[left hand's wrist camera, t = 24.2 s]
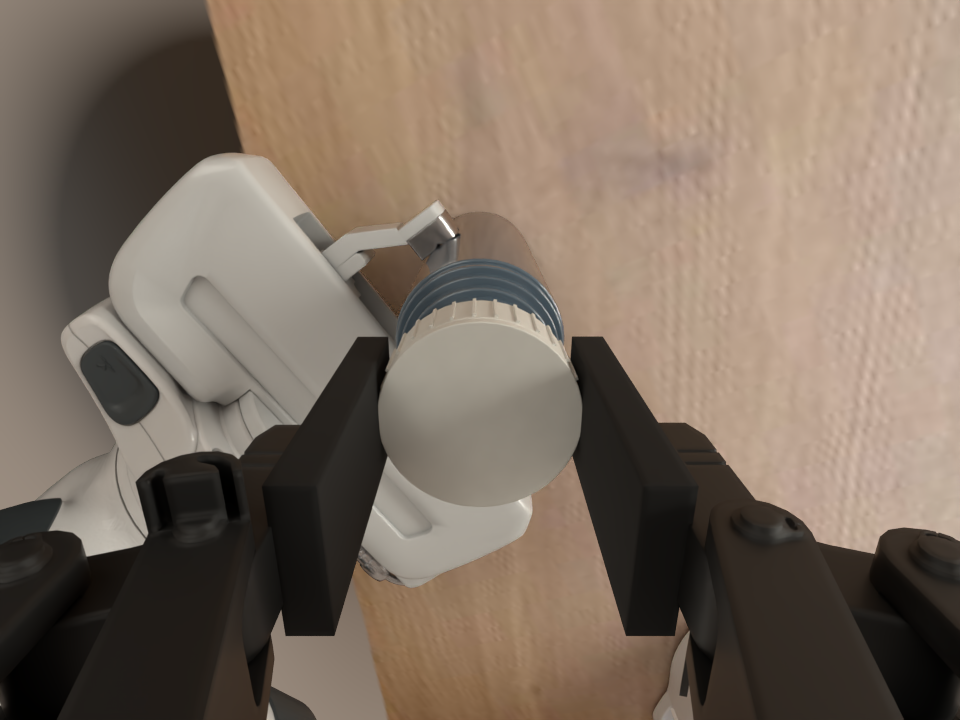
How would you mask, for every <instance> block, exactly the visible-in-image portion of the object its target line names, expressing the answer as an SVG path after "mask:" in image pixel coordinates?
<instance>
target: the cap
mask: <svg viewBox="0 0 960 720" xmlns="http://www.w3.org/2000/svg"><path fill="white" fill-rule="evenodd" d="M385 371H386V374H385V377H384V379H383V382H382V384H381V386H380V393H379V398H378V415H379V429H380V438H381V442H382V444H383V447H384V449H385V451H386V453H387V455H388V457H389V458H390V460H391V462H392V463H393V465H394V466H395V467H396V468H397V470H398V471H399V472H400V473H401V474H402V475H403V476H404V477H405V478H406V479H407V480H408V481H409V482H410V483H411V484H413V485H414V486H415V487H417V488H418V489H420V490H421V491H423V492H425V493H426V494H428V495H430V496H432V497H435V498H437V499H439V500H442V501H445V502H448V503H451V504H456V505H461V506H469V507H492V506H499V505H504V504H508V503H512V502H515V501H518V500H521V499H523V498H526V497H528V496H530V495H532V494H533V493H535V492H537V491H539V490H540V489H542V488H543V487H545V486H546V485H547V484H549V483H550V482H551V481H552V480H553V479H554V478H555V477H556V476H557V475H558V474H559V473H560V472H561V471H562V470H563V469H564V467H565V466H566V465H567V463H568V462H569V460H570V459H571V457H572V455H573V453H574V451H575V449H576V447H577V444H578V441H579V438H580V433H581V419H582V397H581V394H580V390H579V386H578V384H577V381H576V380H579V379H578V376H577V374H576V372H575V369H574V367H573V365H572V362H571V360H570V358H569V357H568V355H567V353H566V351H565V348H564V346H563V343H562V341H561V340H559V341H558V340H557V338H556V337H555V336H554V335H553V333H552V331H551V328H550V326H549V325H547V326H545V325H544V324H543V323H542V322H541V321H539V320H538V319H537V318H536V317H535V314H533V313H532V314H529V313H527V312H525V311H523V310H521V309H519V308H517V305H515V304H513V306H511V305H508V304H505V303H500V302H497V300H496V299H493V301H485V300H477V301H476V298H473V301H465V302H460V303H456V301H454V302H452V305H449V306H445V307H443V308H441V309H439V310H437V309H436V308H435V309H433V312H432V313H431V314H429V315H428V316H426V317H425V318H423V319H422V320H420V319H418V320H417V321H416V324H415V326H414V327H413V328H412V329H411V330H410V331H409V332H408V333H407V334H406V333H404V334H403V336H402V339H401V341H400V344H399V346H398V348H397V349H394V350H393V353H392V355H391V358H390V360H389V362H388V365H387V367H386V369H385Z"/></svg>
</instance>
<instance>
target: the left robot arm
mask: <svg viewBox="0 0 960 720" xmlns="http://www.w3.org/2000/svg"><path fill="white" fill-rule="evenodd" d="M389 360H390V357H389V341H388V337H357V339H356V340H355V342H354V343H353V345H352V346H351V348H350V349H349V351H348V353H347V354H346V356H345V357H344V359H343V360H342V362H341V363H340V365H339V367H338V368H337V370H336V371H335V373H334V374H333V376H332V377H331V379H330V381H329V382H328V384H327V385H326V387H325V388H324V390H323V391H322V393H321V395H320V396H319V398H318V399H317V401H316V402H315V404H314V405H313V407H312V409H311V410H310V412H309V413H308V415H307V416H306V418H305V419H304V421H303V423H302V424H301V425H274V426H273V427H271V428H269V429H268V430H266V431H265V432H263V433H261V434H260V435H258V436H257V437H255V438H254V440H253V441H252V442H251V444H250V445H249V446H248V448H247V449H246V450H245V451H244V455H241V457H240V458H239V459H238V458H236V457H235V456H234V455H233V454H229V453H224V452H220V451H201V452H195V453H190V454H185V455H180V456H177V457H174V458H172V459H169V460H166V461H163V462H161V463H159V464H157V465H156V466H154V467H152V468H150V469H149V470H147V471H145V472H144V473H143V474H142V475H141V477H140V478H139V479H138V480H137V481H136V482H135V483H136V487H137V491H138V495H139V499H140V503H141V507H142V511H143V514H144V518H145V522H146V526H147V530H148V535H147V537H146V539H145V541H144V543H143V545H139V546H135V547H132V548H127V549H122V550H117V551H112V552H107V553H102V554H97V555H92V556H86V553H85V550H84V547H83V543H82V540H81V539H80V538H79V537H78V536H76V535H75V534H74V533H72V532H66V531H60V530H54V531H45V532H35V533H30V534H26V535H25V536H23V535H22V536H19V537H16V538H13V539H10V540H8V541H7V542H5V543H3V544H1V545H0V720H267V713H268V705H269V697H270V689H271V681H272V673H273V665H274V652H273V645H272V639H271V632H272V629H273V627H274V625H275V622H276V620H277V618H278V615H279V613H280V611H281V610H282V616H283V622H284V629H285V635H286V636H334V635H335V632H336V628H337V625H338V621H339V618H340V615H341V612H342V608H343V605H344V601H345V598H346V595H347V591H348V588H349V585H350V581H351V578H352V575H353V571H354V568H355V565H356V561H357V558H358V555H359V551H360V548H361V544H362V541H363V538H364V534H365V531H366V528H367V524H368V521H369V518H370V514H371V511H372V507H373V504H374V501H375V497H376V494H377V491H378V487H379V484H380V481H381V477H382V474H383V470H384V467H385V464H386V460H387V457H388V455H387V453H386V451H385V449H384V447H383V444H382V442H381V438H380V429H379V415H378V398H379V393H380V386H381V384H382V382H383V379H384V377H385V374H386V371H385V369H386V367H387V365H388V362H389ZM571 362H572V365H573V367H574V369H575V372H576V374H577V376H578V379H579V380H576V381H577V384H578V386H579V390H580V394H581V397H582V419H581V433H580V438H579V441H578V444H577V447H576V449H575V451H574V453H573V455H572V456H573V459H574V463H575V466H576V469H577V473H578V476H579V479H580V483H581V486H582V489H583V493H584V496H585V499H586V503H587V506H588V510H589V513H590V516H591V520H592V523H593V526H594V530H595V533H596V536H597V540H598V543H599V547H600V550H601V553H602V557H603V560H604V563H605V567H606V570H607V573H608V577H609V580H610V584H611V587H612V590H613V594H614V597H615V600H616V604H617V607H618V610H619V614H620V617H621V620H622V624H623V627H624V631H625V634H626V636H675V631H676V625H677V618H678V612H679V607H680V609H681V612H682V614H683V616H684V619H685V621H686V623H687V626H688V628H689V630H690V633H689V639H688V645H687V651H686V657H685V662H684V668H683V674H682V680H681V686H680V693H679V696H684V697H687V694H688V689H689V688H690V696H691V704H692V712H693V720H960V541H958V540H955V539H954V538H953V537H950V536H948V535H945V534H941V533H939V534H938V533H936V532H934V531H929V530H922V529H913V528H898V529H892V530H888V531H887V532H885V533H884V534H883V535H882V536H880V538H879V542H878V545H877V548H876V552H875V554H871V553H866V552H861V551H856V550H851V549H846V548H841V547H836V546H831V545H827V544H823V543H819V542H816V540H815V538H814V536H813V534H812V532H811V531H810V530H809V529H808V527H807V526H806V525H805V524H804V523H803V521H801V520H800V519H799V518H797V517H796V516H794V515H793V514H791V513H790V512H788V511H786V510H784V509H782V508H779V507H777V506H775V505H772V504H770V503H766V502H761V501H757V500H755V499H754V497H753V496H752V495H751V493H750V492H749V491H748V490H747V488H746V487H745V486H744V484H743V483H742V482H741V481H740V479H739V478H738V477H737V475H736V474H735V473H734V472H733V470H732V469H731V468H730V466H729V465H726V461H725V460H724V459H723V457H722V456H721V455H720V454H719V453H717V452H716V448H715V447H714V446H713V445H712V443H711V442H710V441H709V439H708V438H707V437H706V436H705V435H704V434H702V433H701V432H699V431H698V430H696V429H694V428H693V427H691V426H689V425H688V424H686V423H658V422H657V420H656V419H655V417H654V416H653V414H652V413H651V411H650V409H649V408H648V406H647V405H646V403H645V402H644V400H643V399H642V397H641V395H640V394H639V392H638V391H637V389H636V388H635V386H634V385H633V383H632V381H631V380H630V378H629V377H628V375H627V374H626V372H625V371H624V369H623V367H622V366H621V364H620V363H619V361H618V360H617V358H616V357H615V355H614V353H613V352H612V350H611V349H610V347H609V346H608V344H607V343H606V341H605V339H604V338H603V337H572V347H571Z"/></svg>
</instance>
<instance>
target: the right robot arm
mask: <svg viewBox="0 0 960 720" xmlns="http://www.w3.org/2000/svg"><path fill="white" fill-rule="evenodd" d="M458 230H459V228H458V226H457V225H456V223H455V222H454V221H453V219H452V218H451V216H450V215H449V213H448V212H447V211H446V209H445V208H444V206H443V205H442V204H441V202H440V201H439V200H438V199H437V200H436V201H434V202H433V203H431V204H430V205H429V206H427V207H426V208H425V209H423V210H422V211H421V212H420V213H418V214H417V215H416V216H414V217H413V218H412V219H410V220H409V221H408V222H407V223H405V224H403V223H402V222H398V223H389V224H380V225H371V226H362V227H355V228H354V229H352V230H351V231H349V232H348V233H346V234H345V235H344V236H342V237H341V238H340V239H338V240H337V241H335V240H334V238H333V237H332V236H331V235H330V233H329V232H328V231H327V230H326V228H325V227H324V226H323V225H322V224H321V222H320V221H319V220H318V219H317V217H316V216H315V215H314V214H313V213H312V211H311V210H310V209H309V208H308V206H307V205H306V204H305V203H304V201H303V200H302V199H301V198H300V197H299V195H298V194H297V193H296V192H295V190H294V189H293V188H292V187H291V186H290V184H289V183H288V182H287V181H286V179H285V178H284V177H283V176H282V174H281V173H280V172H279V171H278V169H277V168H276V167H275V166H274V165H273V163H272V162H271V161H269V160H268V159H267V158H265V157H262V156H257V155H250V154H242V153H223V154H218V155H213V156H210V157H208V158H206V159H204V160H202V161H201V162H199V163H198V164H196V165H195V166H194V167H193V168H192V169H191V170H189V171H188V172H187V173H186V174H185V175H184V176H183V177H182V178H181V179H180V180H179V181H178V182H177V183H176V184H175V185H174V186H173V187H172V188H171V189H170V190H169V191H168V192H167V193H166V194H165V195H164V196H163V197H162V198H161V199H160V200H159V201H158V202H157V204H156V205H155V206H154V207H153V208H152V209H151V210H150V212H149V213H148V214H147V215H146V216H145V217H144V219H143V220H142V221H141V222H140V223H139V225H138V226H137V227H136V228H135V230H134V231H133V232H132V234H131V235H130V236H129V237H128V239H127V240H126V241H125V243H124V244H123V245H122V247H121V248H120V250H119V252H118V253H117V255H116V257H115V259H114V261H113V264H112V267H111V270H110V274H109V294H110V297H108V298H107V299H105V300H103V301H101V302H100V303H98V304H96V305H94V306H93V307H91V308H90V309H88V310H87V311H85V312H84V313H82V314H81V315H79V316H78V317H77V318H75V319H74V320H73V321H71V322H70V323H69V324H68V325H67V326H66V327H65V329H64V330H63V332H62V334H61V344H62V347H63V350H64V352H65V354H66V356H67V358H68V359H69V361H70V363H71V364H72V366H73V367H74V369H75V371H76V372H77V374H78V375H79V377H80V378H81V380H82V382H83V383H84V385H85V387H86V388H87V390H88V391H89V393H90V395H91V396H92V398H93V400H94V402H95V403H96V405H97V407H98V408H99V410H100V412H101V414H102V415H103V417H104V419H105V421H106V423H107V425H108V427H109V429H110V431H111V433H112V435H113V437H114V439H115V441H116V443H115V445H114V446H113V448H112V450H111V451H110V452H109V453H107V454H104V455H101V456H98V457H95V458H93V459H90V460H88V461H86V462H85V463H83V464H81V465H79V466H77V467H76V468H75V469H73V470H72V471H70V472H69V473H68V474H67V475H65V476H64V477H63V478H61V479H60V480H59V481H58V482H56V483H55V484H54V485H53V486H51V487H50V488H49V489H48V490H47V491H46V492H44V493H43V494H42V495H41V496H40V497H39V498H37V499H36V500H35V501H31V502H27V503H23V504H20V505H17V506H13V507H9V508H6V509H2V510H0V545H1V544H3V543H5V542H7V541H8V540H10V539H13V538H16V537H19V536H22V535H23V536H25V535H26V534H30V533H35V532H45V531H54V530H60V531H66V532H72V533H74V534H75V535H76V536H78V537H79V538H80V539H81V540H82V543H83V547H84V550H85V553H86V556H92V555H97V554H102V553H107V552H112V551H117V550H122V549H127V548H132V547H135V546H139V545H143V543H144V541H145V539H146V537H147V535H148V530H147V526H146V522H145V518H144V514H143V511H142V507H141V503H140V499H139V495H138V491H137V487H136V483H135V482H136V481H137V480H138V479H139V478H140V477H141V475H142V474H143V473H144V472H145V471H147V470H149V469H150V468H152V467H154V466H156V465H157V464H159V463H161V462H163V461H166V460H169V459H172V458H174V457H177V456H180V455H185V454H190V453H195V452H201V451H220V452H224V453H229V454H233V455H234V456H235V457H236V458H238V459H239V458H240V457H241V455H244V451H245V450H246V449H247V448H248V446H249V445H250V444H251V442H252V441H253V440H254V438H255V437H257V436H258V435H260V434H261V433H263V432H265V431H266V430H268V429H269V428H271V427H273V426H274V425H301V424H302V423H303V421H304V419H305V418H306V416H307V415H308V413H309V412H310V410H311V409H312V407H313V405H314V404H315V402H316V401H317V399H318V398H319V396H320V395H321V393H322V391H323V390H324V388H325V387H326V385H327V384H328V382H329V381H330V379H331V377H332V376H333V374H334V373H335V371H336V370H337V368H338V367H339V365H340V363H341V362H342V360H343V359H344V357H345V356H346V354H347V353H348V351H349V349H350V348H351V346H352V345H353V343H354V342H355V340H356V339H357V337H388V341H389V357H390V358H391V355H392V353H393V350H394V349H396V340H395V336H396V326H397V321H398V317H397V316H396V314H395V313H394V312H393V311H392V310H391V308H390V307H389V306H388V305H387V303H386V302H385V301H384V300H383V298H382V297H381V296H380V295H379V294H378V292H377V291H376V290H375V289H374V287H373V286H372V285H371V284H370V283H369V281H368V280H367V279H366V278H365V276H364V275H363V274H362V273H361V271H360V269H362V268H363V267H364V266H365V265H366V264H367V263H368V262H369V261H370V260H371V259H372V258H373V257H374V256H375V251H374V250H373V249H377V248H385V247H393V246H401V245H408V244H409V245H410V246H411V247H412V249H413V250H414V251H415V252H416V254H417V255H418V256H419V257H420V259H421V260H423V259H425V258H426V257H428V256H429V255H430V254H432V252H433V251H434V250H436V248H437V245H438V244H444V243H445V242H447V241H449V240H450V239H452V238H453V237H454V236H455V235H456V234H457V233H458V232H459V231H458ZM532 512H533V509H532V498H531V495H530V496H528V497H526V498H523V499H521V500H518V501H515V502H512V503H508V504H504V505H499V506H492V507H469V506H461V505H456V504H451V503H448V502H445V501H442V500H439V499H437V498H435V497H432V496H430V495H428V494H426V493H425V492H423V491H421V490H420V489H418V488H417V487H415V486H414V485H413V484H411V483H410V482H409V481H408V480H407V479H406V478H405V477H404V476H403V475H402V474H401V473H400V472H399V471H398V470H397V468H396V467H395V466H394V465H393V463H392V462H391V460H390V458H389V457H387V460H386V464H385V467H384V470H383V474H382V477H381V481H380V484H379V487H378V491H377V494H376V497H375V501H374V504H373V507H372V511H371V514H370V518H369V521H368V524H367V528H366V531H365V534H364V538H363V541H362V544H361V548H360V551H359V555H358V558H357V561H358V562H359V563H360V566H361V567H362V568H363V570H364V571H365V572H366V573H367V574H368V575H369V576H371V577H372V578H374V579H375V580H377V581H383V580H384V579H386V580H387V581H389V582H391V583H394V584H397V585H403V586H406V587H408V588H414V587H418V586H420V585H423V584H425V583H426V582H428V581H430V580H431V579H433V578H435V577H436V576H438V575H440V574H441V573H444V572H447V571H450V570H452V569H455V568H458V567H460V566H462V565H465V564H467V563H470V562H472V561H474V560H477V559H479V558H481V557H483V556H485V555H488V554H490V553H492V552H494V551H496V550H498V549H500V548H502V547H504V546H506V545H508V544H510V543H512V542H513V541H515V540H517V539H518V538H520V537H521V536H522V535H523V534H524V533H525V531H526V529H527V527H528V524H529V522H530V519H531V516H532ZM689 633H690V630H689V632H688V633H687V634H686V635H685V637H684V638H683V639H682V641H681V642H680V644H679V646H678V648H677V650H676V652H675V654H674V657H673V660H672V663H671V668H670V678H669V685H668V688H667V691H666V692H665V694H664V695H663V697H662V698H661V700H660V701H659V702H658V704H657V706H656V707H655V709H654V712H653V720H693V712H692V704H691V696H690V688H689V689H688V694H687V697H684V696H679V693H680V686H681V680H682V674H683V668H684V662H685V657H686V651H687V645H688V639H689ZM267 720H316V718H315V716H314V714H313V713H312V711H311V710H310V709H309V708H308V707H307V706H306V705H305V704H304V703H302V702H301V701H299V700H297V699H295V698H293V697H291V696H289V695H287V694H285V693H283V692H281V691H279V690H277V689H275V688H273V687H271V689H270V697H269V705H268V713H267Z"/></svg>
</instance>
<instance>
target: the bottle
mask: <svg viewBox="0 0 960 720" xmlns="http://www.w3.org/2000/svg"><path fill="white" fill-rule="evenodd" d="M453 221H454V222H455V223H456V225H457V226H458V228H459V230H458V231H459V232H458V233H457V234H456V235H455V236H454V237H453V238H452V239H450V240H449V241H447V242H445V243H444V244H438V245H437V248H436V250H434V251H433V252H432V254H430V255H429V256H428V257H426V258H425V261H424V263H423V265H422V267H421V269H420V271H419V273H418V275H417V277H416V279H415V281H414V283H413V285H412V287H411V290H410V292H409V294H408V296H407V298H406V300H405V302H404V304H403V306H402V309H401V311H400V314H399V317H398V321H397V326H396V336H395V340H396V349H397V348H398V346H399V344H400V341H401V339H402V336H403V334H404V333H406V334H407V333H408V332H409V331H410V330H411V329H412V328H413V327H414V326H415V324H416V321H417V320H418V319H420V320H422V319H423V318H425V317H426V316H428V315H429V314H431V313H432V312H433V309H435V308H436V309H437V310H439V309H441V308H443V307H445V306H449V305H452V302H454V301H456V303H460V302H465V301H473V298H476V301H477V300H485V301H493V299H496V300H497V302H500V303H505V304H508V305H511V306H513V304H515V305H517V308H519V309H521V310H523V311H525V312H527V313H529V314H532V313H533V314H535V317H536V318H537V319H538V320H539V321H541V322H542V323H543V324H544V325H545V326H547V325H549V326H550V328H551V331H552V333H553V335H554V336H555V337H556V338H557V340H558V341H559V340H561V341H562V343H563V346H564V327H563V322H562V318H561V315H560V312H559V309H558V307H557V305H556V302H555V300H554V298H553V296H552V294H551V292H550V290H549V288H548V286H547V284H546V282H545V280H544V278H543V276H542V274H541V272H540V270H539V268H538V266H537V263H536V261H535V259H534V257H533V255H532V253H531V251H530V249H529V247H528V245H527V243H526V241H525V239H524V237H523V235H522V234H521V233H520V231H519V230H518V229H517V228H516V227H515V226H514V225H513V224H512V223H511V222H509V221H508V220H506V219H505V218H503V217H501V216H498V215H496V214H492V213H487V212H472V213H467V214H464V215H461V216H459V217H456V218H455V219H453Z"/></svg>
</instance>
